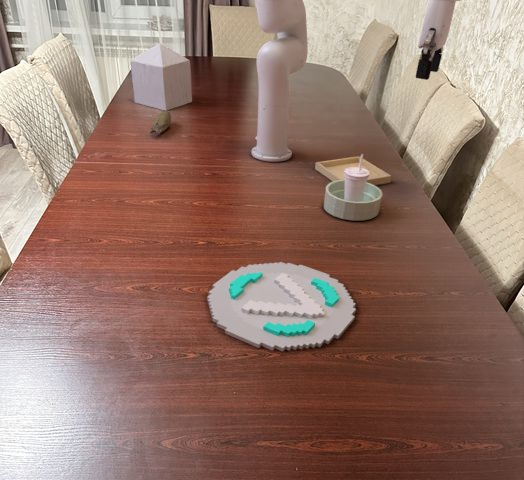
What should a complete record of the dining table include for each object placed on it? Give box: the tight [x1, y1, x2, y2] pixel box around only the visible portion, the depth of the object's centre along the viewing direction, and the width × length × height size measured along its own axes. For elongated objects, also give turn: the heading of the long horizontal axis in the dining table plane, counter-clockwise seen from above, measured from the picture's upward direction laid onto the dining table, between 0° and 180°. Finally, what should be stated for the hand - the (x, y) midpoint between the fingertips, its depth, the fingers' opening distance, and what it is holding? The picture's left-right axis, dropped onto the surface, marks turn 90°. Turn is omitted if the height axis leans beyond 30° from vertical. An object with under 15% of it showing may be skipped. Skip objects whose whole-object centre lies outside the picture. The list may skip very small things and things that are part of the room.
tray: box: [314, 155, 392, 186], centre depth 153 cm, size 17×16×2 cm
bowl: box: [323, 180, 384, 221], centre depth 135 cm, size 14×15×5 cm
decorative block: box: [130, 43, 193, 111], centre depth 196 cm, size 16×16×20 cm
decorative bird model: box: [148, 110, 172, 136], centre depth 175 cm, size 5×20×5 cm, turn 174°
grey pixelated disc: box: [206, 261, 357, 352], centre depth 101 cm, size 28×28×2 cm
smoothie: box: [344, 153, 370, 202], centre depth 132 cm, size 6×6×14 cm
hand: (426, 74), depth 129 cm, fingers open, 9 cm apart
